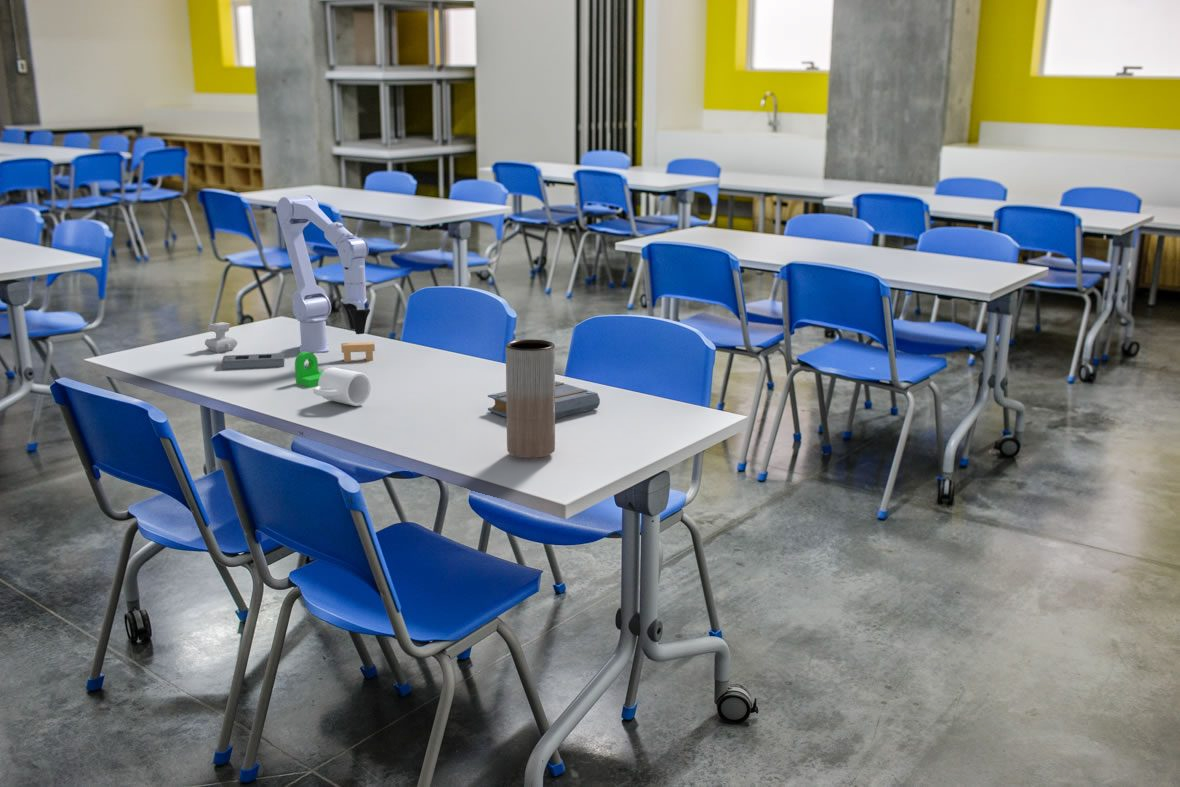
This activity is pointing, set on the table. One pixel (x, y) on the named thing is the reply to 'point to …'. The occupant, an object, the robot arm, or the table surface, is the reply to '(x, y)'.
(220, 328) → the stamp
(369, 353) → the tan wooden block
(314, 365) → the mechanical part
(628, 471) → the table surface
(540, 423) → the planter
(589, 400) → the book
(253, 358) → the grey flat block
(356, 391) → the mug
